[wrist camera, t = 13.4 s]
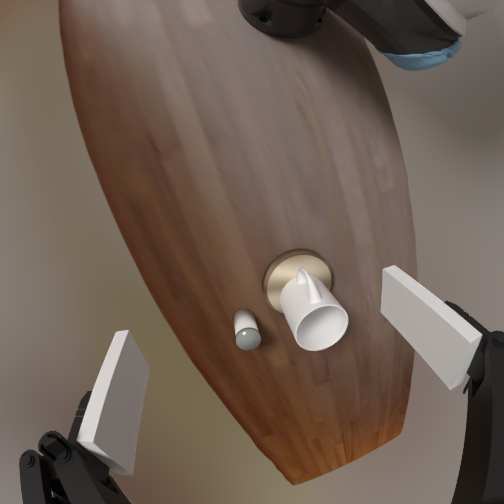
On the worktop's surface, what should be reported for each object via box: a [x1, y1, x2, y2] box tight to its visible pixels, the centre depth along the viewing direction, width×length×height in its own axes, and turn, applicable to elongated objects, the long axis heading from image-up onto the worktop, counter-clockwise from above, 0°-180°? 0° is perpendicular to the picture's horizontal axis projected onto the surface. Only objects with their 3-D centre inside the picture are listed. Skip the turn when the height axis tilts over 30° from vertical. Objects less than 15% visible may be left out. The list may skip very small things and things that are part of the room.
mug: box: [280, 267, 348, 351], centre depth 43 cm, size 9×12×11 cm
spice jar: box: [233, 309, 261, 350], centre depth 47 cm, size 4×4×7 cm
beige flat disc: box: [262, 249, 333, 315], centre depth 49 cm, size 13×13×2 cm
